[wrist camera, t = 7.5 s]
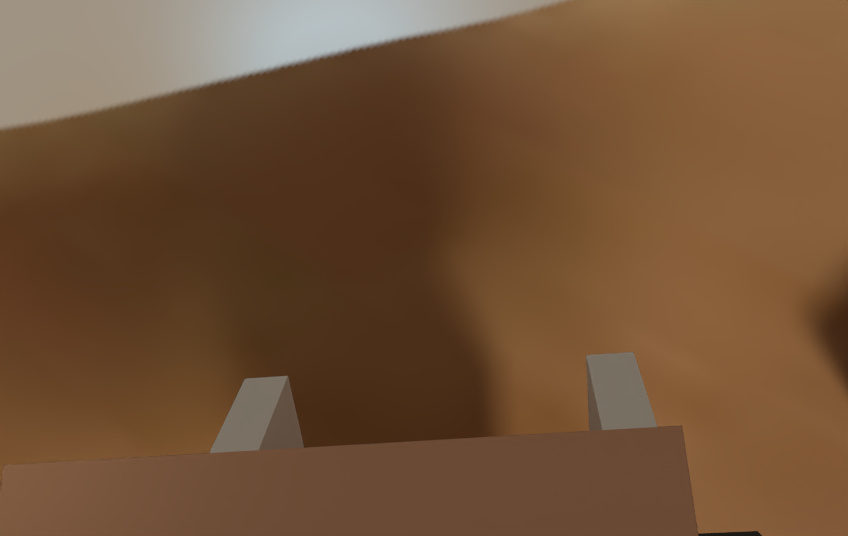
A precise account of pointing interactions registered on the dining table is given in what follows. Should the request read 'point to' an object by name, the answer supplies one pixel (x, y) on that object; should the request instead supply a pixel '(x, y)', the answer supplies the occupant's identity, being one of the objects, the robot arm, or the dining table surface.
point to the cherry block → (370, 490)
